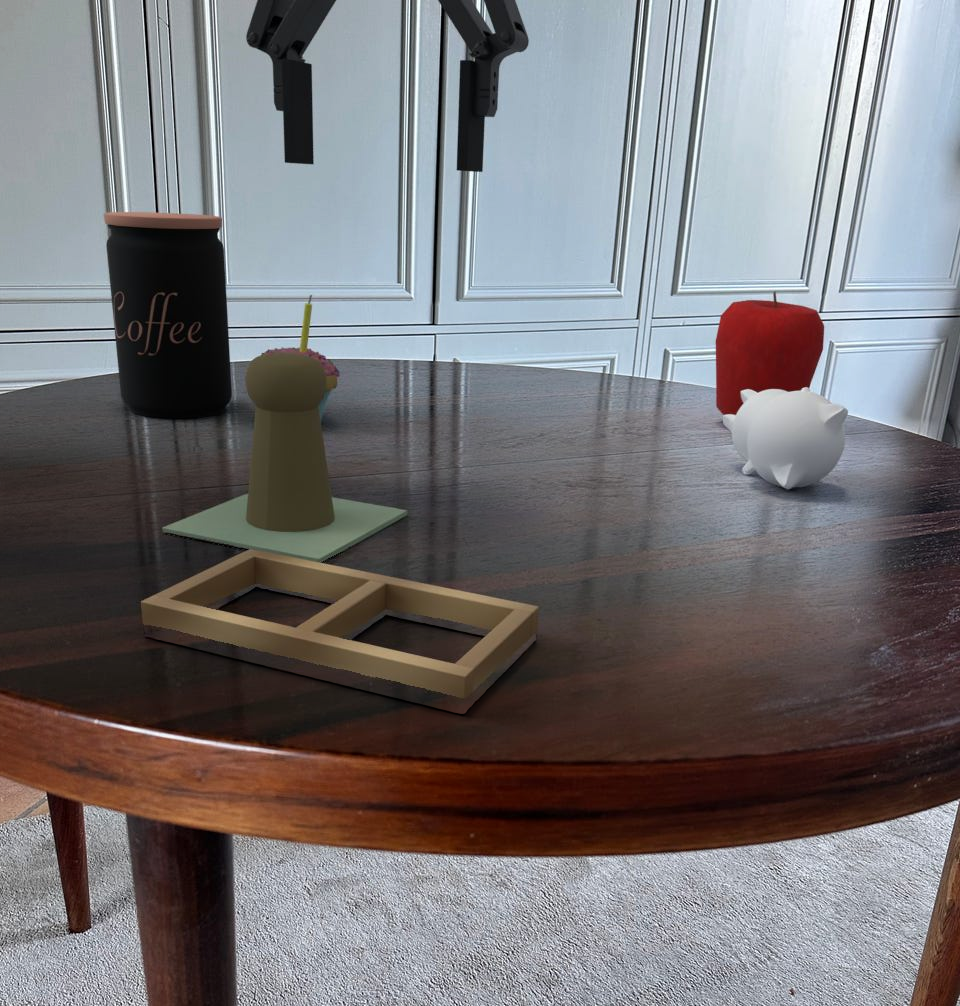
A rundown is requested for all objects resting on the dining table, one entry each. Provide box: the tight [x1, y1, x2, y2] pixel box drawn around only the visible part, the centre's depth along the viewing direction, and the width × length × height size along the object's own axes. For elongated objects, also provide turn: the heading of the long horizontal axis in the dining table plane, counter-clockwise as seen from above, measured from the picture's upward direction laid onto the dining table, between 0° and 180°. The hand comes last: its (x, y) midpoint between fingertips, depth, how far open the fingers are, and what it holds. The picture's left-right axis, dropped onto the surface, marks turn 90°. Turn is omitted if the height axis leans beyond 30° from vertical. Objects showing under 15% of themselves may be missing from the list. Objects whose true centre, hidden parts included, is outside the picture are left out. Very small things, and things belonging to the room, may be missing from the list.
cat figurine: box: [722, 387, 849, 490], centre depth 86 cm, size 9×11×12 cm
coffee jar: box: [103, 211, 233, 419], centre depth 99 cm, size 11×11×18 cm
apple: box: [715, 291, 825, 416], centre depth 105 cm, size 11×10×14 cm
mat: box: [161, 492, 408, 563], centre depth 70 cm, size 12×12×1 cm
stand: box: [140, 549, 540, 698], centre depth 53 cm, size 18×10×2 cm, turn 67°
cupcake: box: [259, 294, 341, 421], centre depth 97 cm, size 9×8×12 cm
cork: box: [245, 352, 335, 532], centre depth 68 cm, size 6×6×11 cm
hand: (381, 168), depth 72 cm, fingers open, 13 cm apart
